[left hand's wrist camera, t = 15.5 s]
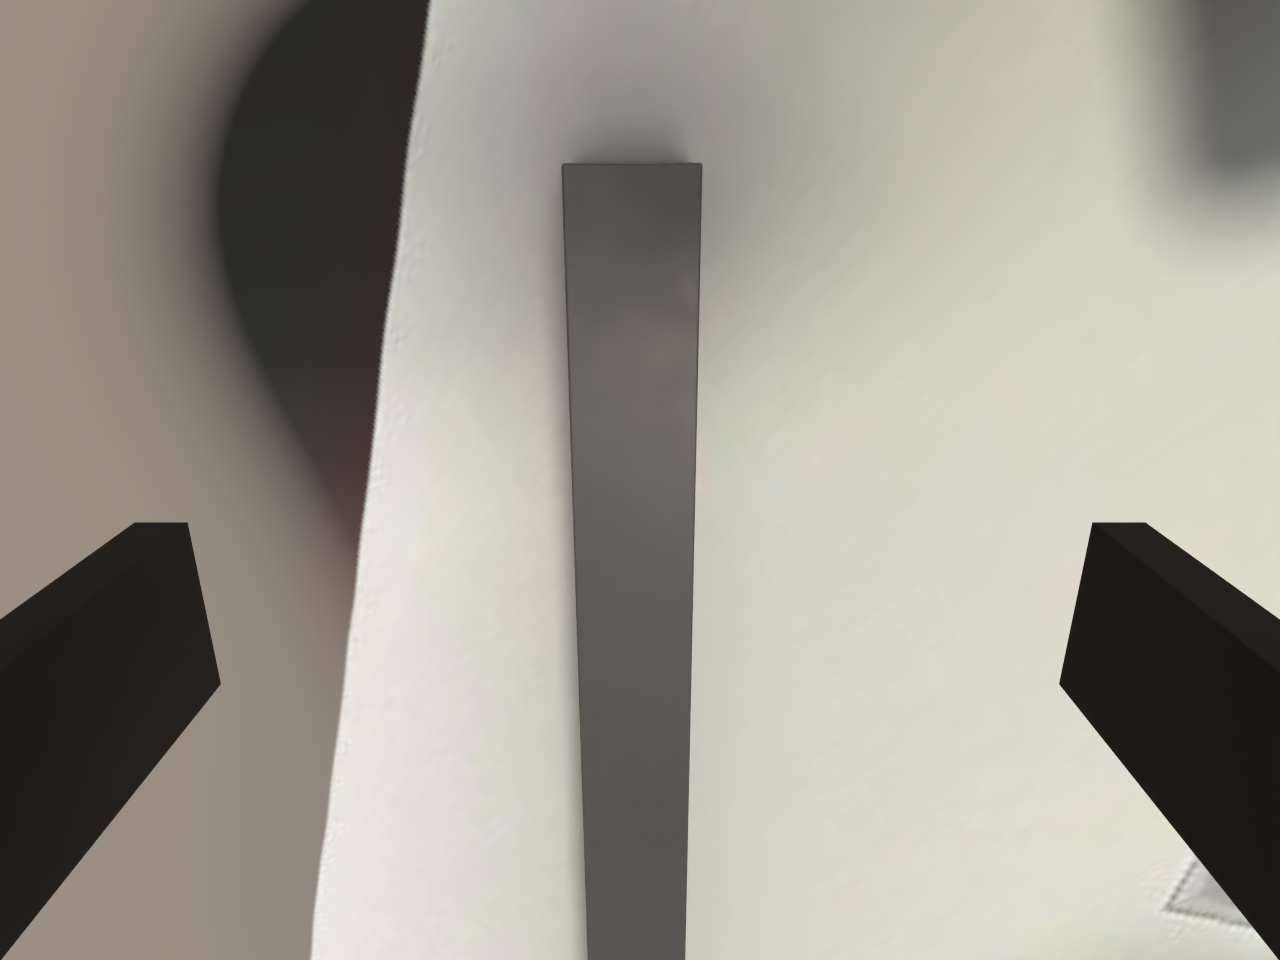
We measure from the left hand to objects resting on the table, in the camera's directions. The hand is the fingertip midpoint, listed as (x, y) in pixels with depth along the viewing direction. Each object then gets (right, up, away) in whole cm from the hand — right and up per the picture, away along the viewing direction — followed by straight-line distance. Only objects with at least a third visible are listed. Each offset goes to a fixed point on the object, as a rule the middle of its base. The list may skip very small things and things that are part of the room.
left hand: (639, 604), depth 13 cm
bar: (0, -18, +41) cm, 45 cm away
